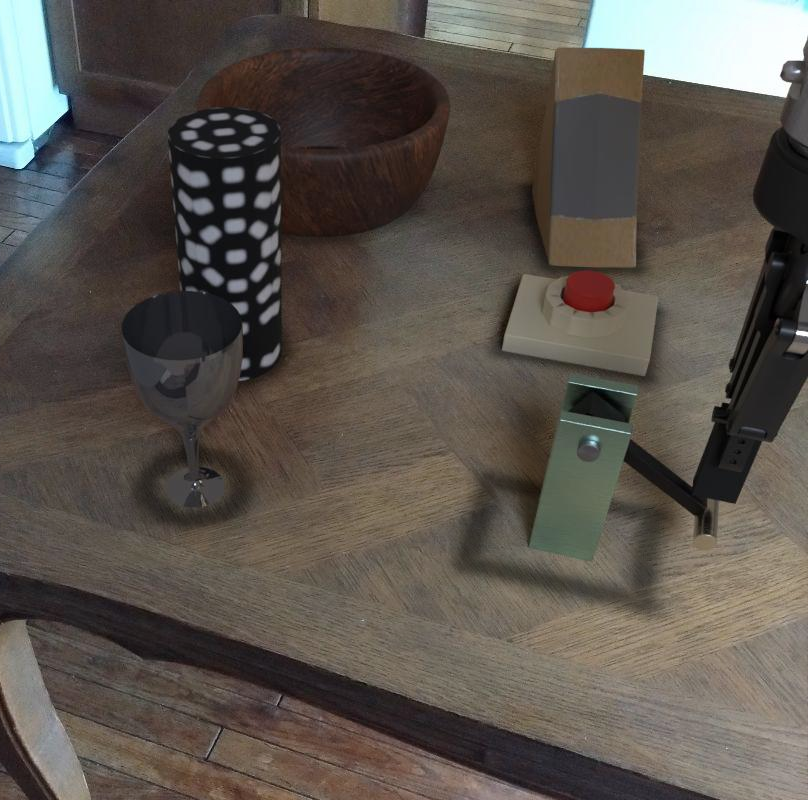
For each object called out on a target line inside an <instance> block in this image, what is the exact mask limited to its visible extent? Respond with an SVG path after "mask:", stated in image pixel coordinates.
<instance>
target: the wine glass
mask: <svg viewBox="0 0 808 800" xmlns="http://www.w3.org/2000/svg"><path fill="white" fill-rule="evenodd" d="M121 337H122V345H123V346H122V347H123V353H124V358H125V363H126V368H127V371H128V374H129V377H130V380H131V383H132V385H133V387H134V389H135V392H136V394H137V397H138V399H139V400H140V401H141V403H142V405H143V406H144V407H145V409H146V410H147V411H148V412H150V413H151V414H152V415H153V416H154V417H156V418H157V419H159V420H161V421H162V422H165V423H166V424H168V425H169V426H171V427H173V428H174V429H176V431H177V432H178V433H179V435H180V436H181V439H182V442H183V445H184V449H185V453H186V459H187V467H185V468H182V469H179V470H177V471H175V472H174V473H173V474H171V476H170V477H168V478H167V480H166V483H165V485H164V492H165V495H166V496H167V498H168V499H169V500H170V501H171V502H172V503H174V504H175V505H177V506H180V507H184V508H190V509H191V508H194V509H196V508H197V509H198V508H203V507H206V506H209V505H211V504H213V503H215V502H217V501H218V500H219V499H220V498H221V497H222V496H223V494H224V492H225V489H226V484H225V480H224V478H223V477H222V476H221V474H220V473H218V472H217V471H216V470H213V469H212V468H208V467H203V466H200V465H199V451H200V450H199V449H200V441H201V440H200V439H201V434H202V432H203V430H204V428H206V426H207V425H208V424H209V423H211V422H212V421H213V420H214V419H215V418H217V417H218V416H219V415H220V414H222V413H223V411H225V410H226V408H227V407H228V406H229V405H230V403H231V402H232V401H233V399H234V397H235V394H236V392H237V388H238V385H239V382H240V381H239V377H240V373H241V366H242V357H243V325H242V319H241V315H240V313H239V312H238V310H237V309H236V308H235V307H234V306H233V305H232V304H231V303H229V302H228V301H226V300H225V299H223V298H220V297H218V296H215V295H212V294H209V293H204V292H197V291H181V290H178V291H177V290H176V291H169V292H168V291H167V292H164V293H159V294H156V295H153V296H150V297H148V298H146V299H143V300H141V301H140V302H138V303H136V304H135V305H134V306H133V307H131V309H130V310H128V311H127V313H126V314H125V316H124V318H123V319H122V323H121Z"/></svg>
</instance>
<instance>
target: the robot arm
mask: <svg viewBox="0 0 808 800" xmlns="http://www.w3.org/2000/svg"><path fill="white" fill-rule="evenodd" d="M802 54H803V59H802V60H797V59H796V60H787V61H785V62H784V63H783V64H782V68H781V72H780V73H779V77H780V79H781V80H782V82H785V83H790V86H789V89H788V91H787V94H786V97H785V100H784V103H783V106H782V109H781V112H780V118H779V121H780V124H781V126H780V127H779V128H778V129H777V130H774V132H773V134H772V135H771V138H770V141H769V143H768V145H767V150H766V153H765V155H764V158H763V161H762V164H761V167H760V169H759V172H758V174H757V178H756V181H755V184H754V187H753V191H752V200H753V205H754V208H755V209H756V211H757V212H758V213H759V215H760V216H761V217H762V218H763V219H764V220H765V221H766V222H767V223H769V224H770V225H771V226H773V227H772V229H771V230H770V233H769V236H768V238H767V241H766V244H765V247H764V248H765V249H764V260H763V264H762V266H761V270H760V273H759V276H758V278H757V282H756V284H755V288H754V291H753V293H752V297H751V300H750V303H749V307H748V309H747V312H746V315H745V318H744V321H743V325H742V328H741V330H740V332H739V333H740V334H739V336H738V340H737V342H736V346H735V349H734V352H733V355H732V358H730V359H729V362H728V370H729V373H731V376H730V379H729V381H728V382H727V383H726V384H725V389H724V393H725V399H730V402H724V401H722V402H721V405H720V406H719V405H714V406H713V409H712V414H711V419H710V420H711V422H712V423H713V425H712V429H711V432H710V433H709V437H708V439H707V442H706V445H705V447H704V449H703V452H702V456H701V458H700V460H699V463H698V466H697V468H696V471H695V474H694V477H693V479H692V485H691V486H692V495H694V496H699V497H703V498H708V499H713V500H718V501H719V502H724V503H728V504H733V505H736V504H737V502H738V500H739V496H740V495H741V492H742V490H743V487H744V485H745V483H746V481H747V478H748V476H749V473H750V471H751V469H752V467H753V465H754V461H755V460H756V457H757V455H758V453H759V450H760V448H761V445H762V443H763V442H764V443H765V442H766V443H770V444H771V443H773V442H774V441H775V438H777V437H778V433H779V431H780V429H781V427H782V426H783V424H784V421H785V420H786V418H787V416H788V414H789V412H790V411H791V409H792V407H793V405H794V403H795V402H796V400H797V398H798V396H799V394H800V393H801V390H802V389H803V388H804V386H805V383H806V381H807V380H808V36H807V37H806V41H805V44H804V46H803V48H802Z"/></svg>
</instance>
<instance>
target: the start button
mask: <svg viewBox="0 0 808 800" xmlns="http://www.w3.org/2000/svg"><path fill="white" fill-rule="evenodd" d="M568 276H569V277H568V278H567V281H566V286H565V290H564V295H563V300H564V302H565V304H566V305H568V306H570V307H572V308H574V309H576V310H579V311H585V312H591V313H592V312H599V311H605V310H606V309H608V308H609V306H610V304H611V301H612V297H613V293H614V289H615V284H616V283H615V282H614V280H613V279H612V278H611V277H610V276H608V275H606V274H605V273H603V272H599V271H596V270H578V271H575V272H572V273H571V274H570V275H568ZM614 283H615V284H614Z"/></svg>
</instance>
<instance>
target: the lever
mask: <svg viewBox="0 0 808 800" xmlns="http://www.w3.org/2000/svg"><path fill="white" fill-rule="evenodd" d="M567 412H572V413H577V414H583V415H588V416H593V417H598V418H604V419H609V420H614V421H619V422H624V419H625V416H624V415H623V414H621V413H620V412H619V411H617V410H616V409H615V408H614V407H612V406H611V405H610V404H608V403H607V402H606V401H605V400H603V399H602V398H601V397H600V396H598V395H597V394H596V393H594V392H592V393H590V394H589V395H588V396H586V397H585V398H584V399H583V400H581V401H580V402H579V403H578V404H576V405H575V406H574V407H573V408H571V409H570V410H569V411H567ZM623 463H625V464H627V465H628V466H629V467H631V468H632V469H633V470H634V471H635V472H636V473H638V474H640V475H641V476H642V477H643V478H644V479H646V480H647V481H649V482H650V483H651V484H652V485H654V486H655V487H656V488H658V489H659V490H660V491H662V492H663V493H664V494H666V496H668V497H670V498H671V499H672V500H673V501H674V502H676V503H677V504H679V505H680V506H681V507H683V508H684V510H686V511H688V512H689V513H690V514H691V515H693V516H694V520H693V532H692V533H693V534H692V535H693V536H692V544H693V547H694V548H696V550H700V551H703V552H704V551H706V552H708V551H712V550H714V549H715V548H716V547H717V545H718V533H719V513H720V501H718V500H713V499H708V498H703V497H699V496H694V495H692V485H690V483H688V482H687V481H686V480H684V479H683V478H681V476H679V475H678V474H677V473H675V472H674V471H673V470H671V469H670V468H669V467H668V466H666V465H665V464H663V462H661V461H660V460H659V459H657V458H656V457H655V456H653V455H652V454H651V453H649V451H647V450H645V449H644V448H643V447H642V446H641V445H639V444H638V443H636V441H634V440H633V439H632V438H630V441H629V445H628V448H627V451H626V454H625V458H624V461H623Z"/></svg>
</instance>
